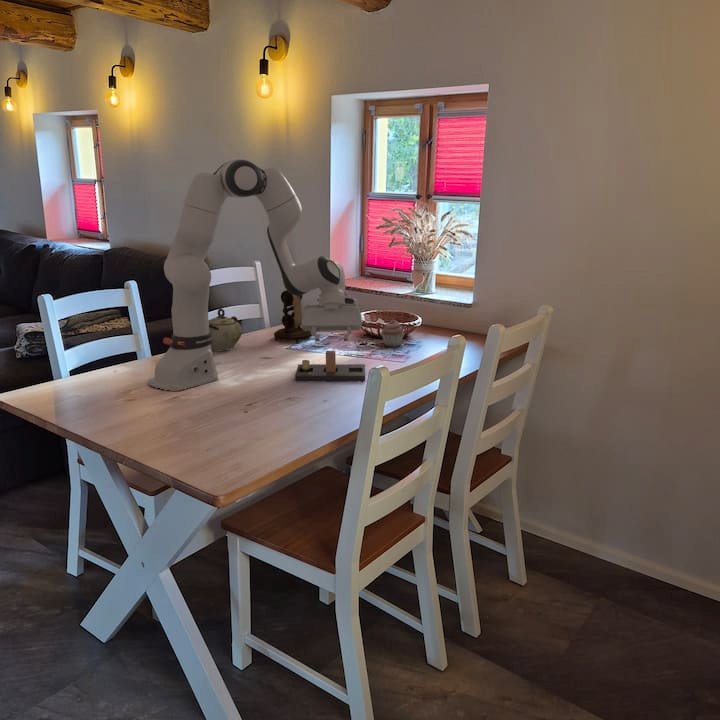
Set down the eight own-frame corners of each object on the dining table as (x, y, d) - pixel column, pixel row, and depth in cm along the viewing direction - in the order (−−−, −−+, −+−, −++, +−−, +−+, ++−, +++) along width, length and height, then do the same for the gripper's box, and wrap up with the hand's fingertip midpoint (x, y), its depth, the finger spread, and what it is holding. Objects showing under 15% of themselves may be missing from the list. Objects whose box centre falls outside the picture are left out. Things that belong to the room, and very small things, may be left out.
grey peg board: (295, 381, 194) (294, 366, 193) (298, 370, 206) (298, 355, 204) (365, 381, 194) (365, 366, 193) (364, 370, 206) (364, 355, 205)
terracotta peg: (326, 377, 199) (325, 353, 196) (326, 374, 202) (326, 350, 199) (335, 377, 199) (335, 353, 196) (335, 374, 202) (335, 350, 199)
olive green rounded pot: (222, 339, 244) (219, 302, 239) (254, 344, 238) (252, 305, 233) (189, 352, 226) (186, 312, 222) (223, 357, 220) (220, 316, 216)
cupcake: (375, 345, 235) (376, 320, 232) (387, 340, 243) (388, 315, 240) (397, 349, 231) (398, 323, 228) (409, 343, 238) (409, 318, 235)
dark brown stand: (299, 345, 235) (298, 293, 230) (266, 341, 242) (264, 290, 236) (318, 337, 248) (317, 287, 243) (286, 333, 254) (285, 284, 249)
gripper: (300, 300, 207) (299, 335, 201) (361, 299, 208) (362, 335, 201) (302, 310, 213) (300, 345, 206) (361, 310, 213) (362, 345, 207)
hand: (331, 340), depth 204 cm, fingers open, 8 cm apart
